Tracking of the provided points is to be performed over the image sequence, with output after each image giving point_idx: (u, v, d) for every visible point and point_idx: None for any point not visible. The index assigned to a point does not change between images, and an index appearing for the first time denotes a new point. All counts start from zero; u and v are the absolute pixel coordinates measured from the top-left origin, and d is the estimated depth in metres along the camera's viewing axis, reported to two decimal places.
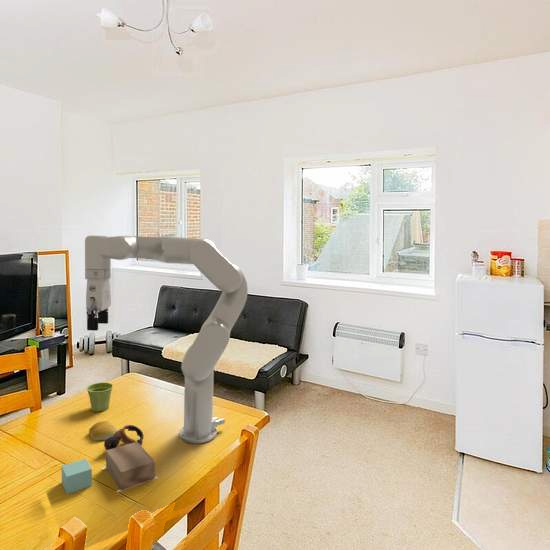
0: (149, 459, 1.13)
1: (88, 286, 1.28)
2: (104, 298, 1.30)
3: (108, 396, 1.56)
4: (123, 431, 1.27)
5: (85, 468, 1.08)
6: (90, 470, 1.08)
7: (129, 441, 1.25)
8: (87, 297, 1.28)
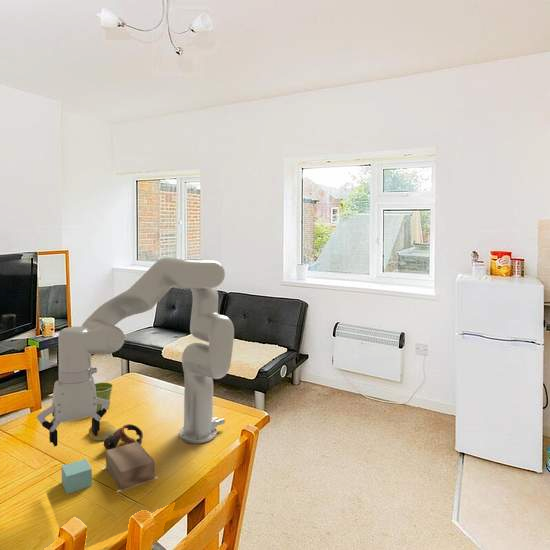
0: (149, 459, 1.13)
1: None
2: None
3: (108, 396, 1.56)
4: (122, 430, 1.27)
5: (85, 468, 1.08)
6: (90, 470, 1.08)
7: (128, 440, 1.26)
8: (96, 398, 1.08)
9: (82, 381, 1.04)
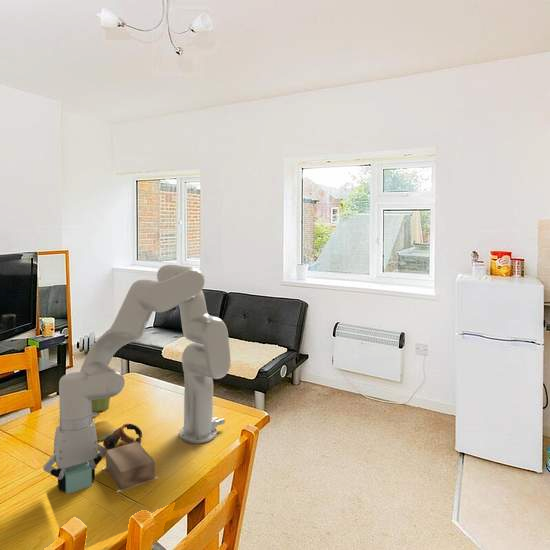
0: (149, 459, 1.13)
1: (95, 430, 1.09)
2: None
3: None
4: (122, 429, 1.28)
5: (85, 468, 1.08)
6: (90, 470, 1.08)
7: (128, 439, 1.26)
8: None
9: (83, 427, 1.05)
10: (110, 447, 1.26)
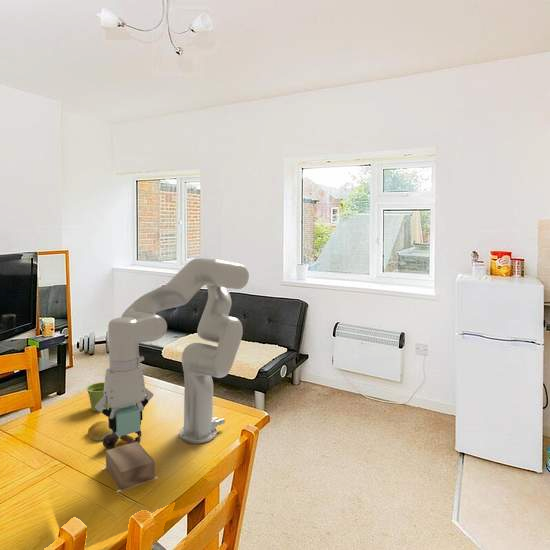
0: (149, 459, 1.13)
1: (142, 373, 1.13)
2: None
3: None
4: None
5: (133, 409, 1.12)
6: (139, 411, 1.12)
7: (127, 438, 1.27)
8: (144, 385, 1.14)
9: (132, 369, 1.09)
10: (109, 446, 1.26)
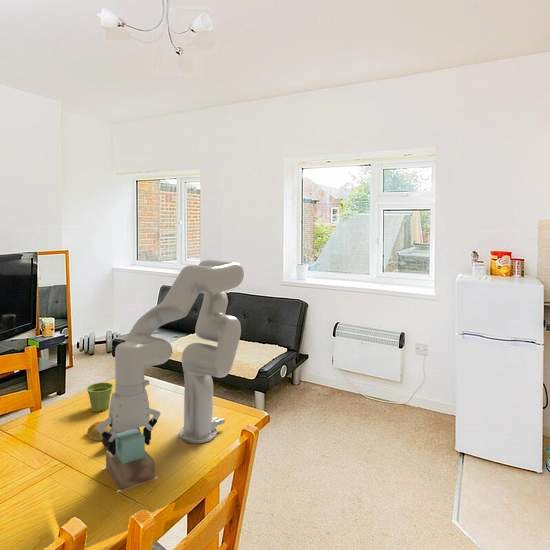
0: (149, 459, 1.13)
1: (147, 397, 1.14)
2: None
3: (108, 396, 1.56)
4: None
5: (138, 436, 1.13)
6: (143, 437, 1.13)
7: None
8: (149, 409, 1.15)
9: (138, 393, 1.10)
10: None
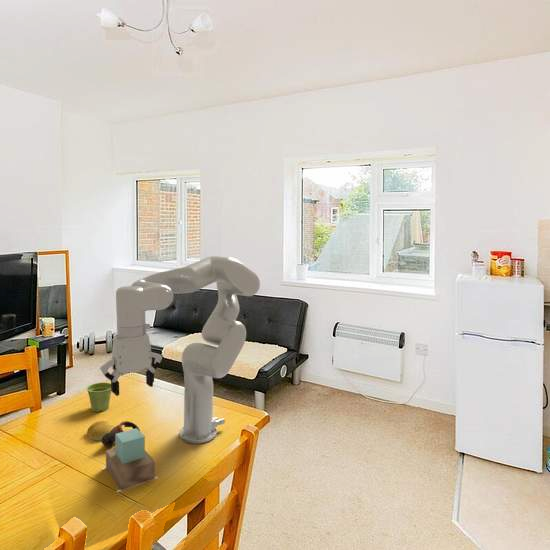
0: (149, 459, 1.13)
1: None
2: None
3: (108, 396, 1.56)
4: (120, 427, 1.29)
5: (138, 436, 1.13)
6: (143, 437, 1.13)
7: None
8: (151, 352, 1.17)
9: (139, 335, 1.12)
10: (108, 444, 1.27)
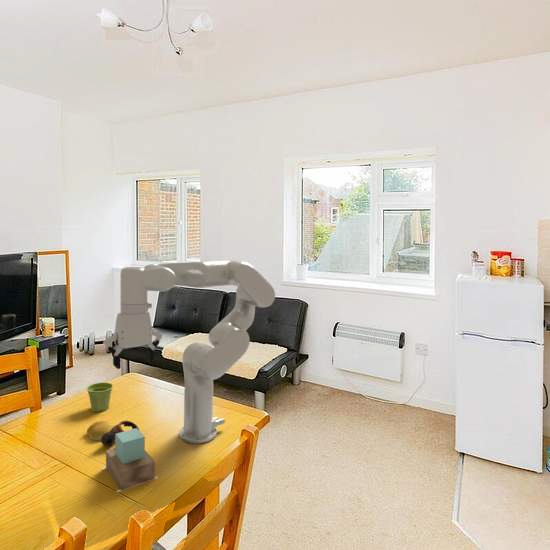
0: (149, 459, 1.13)
1: (150, 319, 1.24)
2: None
3: (108, 396, 1.56)
4: (119, 426, 1.30)
5: (138, 436, 1.13)
6: (143, 437, 1.13)
7: None
8: (151, 330, 1.24)
9: (141, 312, 1.20)
10: (108, 444, 1.28)
